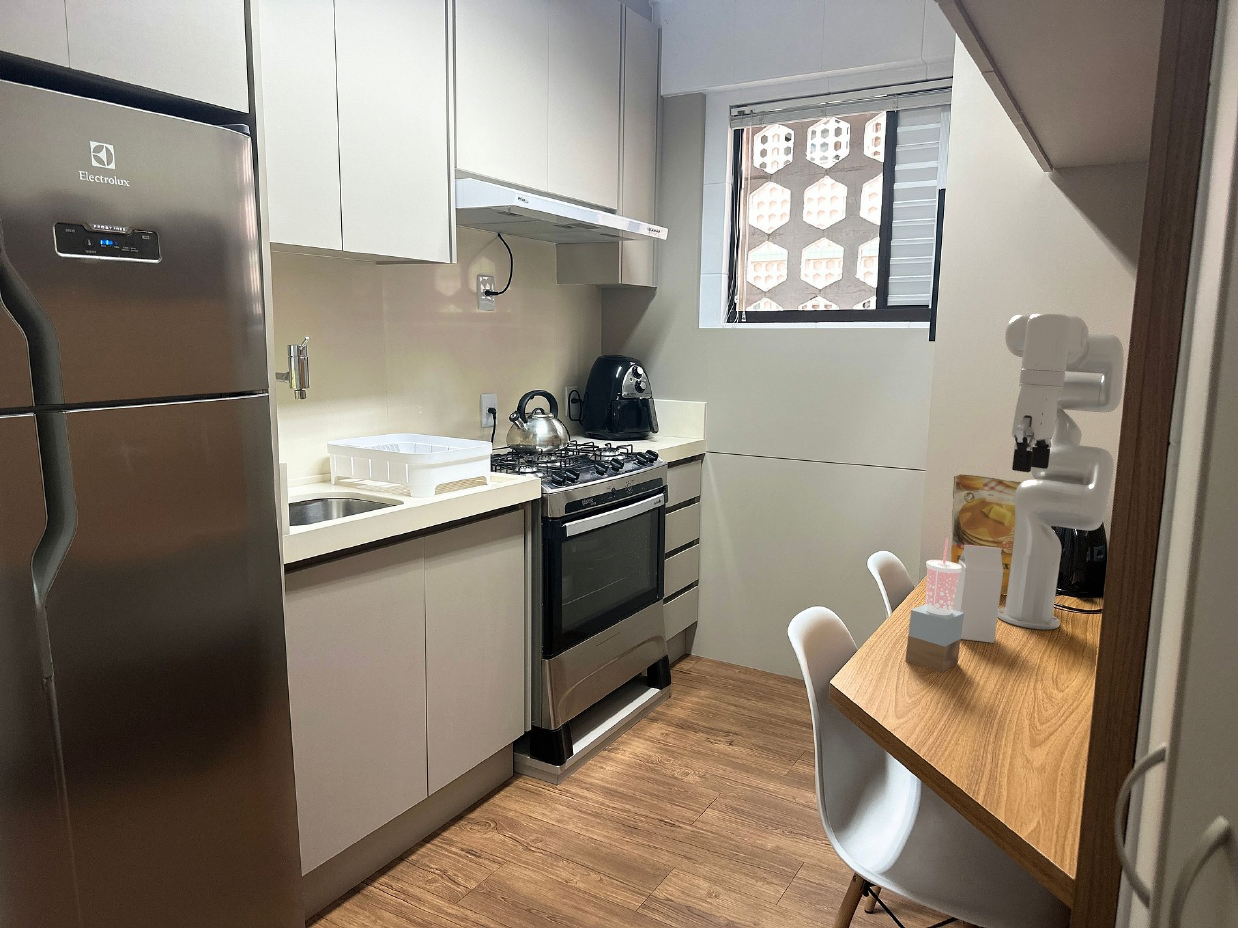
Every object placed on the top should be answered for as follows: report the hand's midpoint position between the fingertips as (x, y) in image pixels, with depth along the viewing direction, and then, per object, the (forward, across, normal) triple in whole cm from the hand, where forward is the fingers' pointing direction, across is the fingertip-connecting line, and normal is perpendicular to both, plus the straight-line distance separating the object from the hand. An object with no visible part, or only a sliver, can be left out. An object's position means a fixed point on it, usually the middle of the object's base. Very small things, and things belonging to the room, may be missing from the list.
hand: (1030, 469), depth 161 cm
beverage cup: (+27, +19, -7) cm, 33 cm away
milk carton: (+36, -3, -8) cm, 37 cm away
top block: (+31, +19, -7) cm, 37 cm away
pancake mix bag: (+36, -42, -21) cm, 59 cm away
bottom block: (+36, +19, -7) cm, 42 cm away
